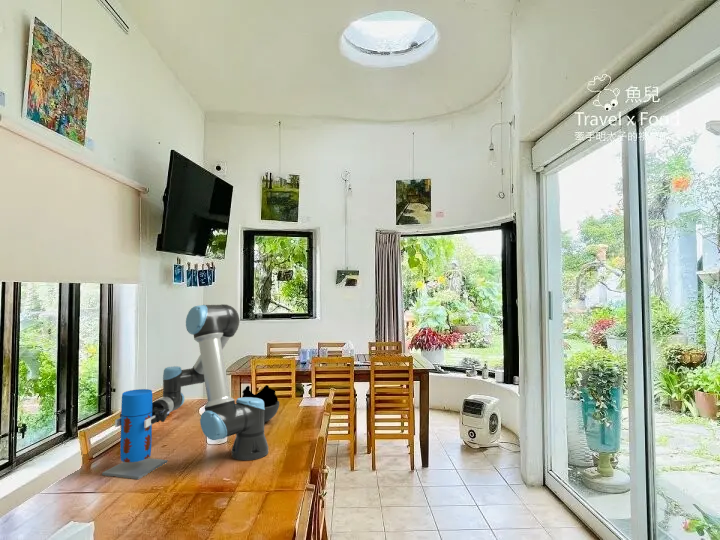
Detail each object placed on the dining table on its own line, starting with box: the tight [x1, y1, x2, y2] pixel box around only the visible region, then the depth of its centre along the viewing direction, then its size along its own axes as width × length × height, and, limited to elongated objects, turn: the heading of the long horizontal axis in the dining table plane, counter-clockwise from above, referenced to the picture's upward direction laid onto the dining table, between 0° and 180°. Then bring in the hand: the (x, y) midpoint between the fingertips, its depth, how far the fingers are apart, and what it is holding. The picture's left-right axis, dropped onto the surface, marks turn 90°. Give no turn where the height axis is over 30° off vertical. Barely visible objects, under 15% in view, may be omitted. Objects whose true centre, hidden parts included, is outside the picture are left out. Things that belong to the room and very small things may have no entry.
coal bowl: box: [241, 384, 280, 423], centre depth 228 cm, size 20×20×19 cm
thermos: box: [120, 388, 153, 463], centre depth 170 cm, size 11×11×25 cm
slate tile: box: [101, 457, 169, 480], centre depth 169 cm, size 16×16×1 cm
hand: (130, 423), depth 166 cm, fingers closed on thermos, 11 cm apart
